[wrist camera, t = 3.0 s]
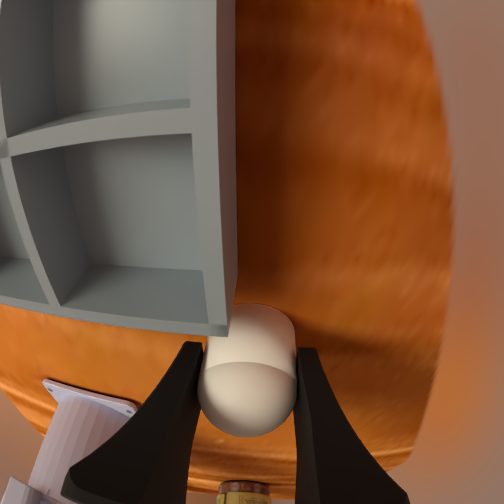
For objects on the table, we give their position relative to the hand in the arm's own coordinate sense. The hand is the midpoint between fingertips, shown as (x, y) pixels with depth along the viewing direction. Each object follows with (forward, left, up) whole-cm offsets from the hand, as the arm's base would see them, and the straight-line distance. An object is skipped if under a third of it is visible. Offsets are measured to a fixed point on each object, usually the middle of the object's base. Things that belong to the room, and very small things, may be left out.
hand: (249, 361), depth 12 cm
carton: (+9, +9, -1) cm, 13 cm away
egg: (0, 0, -1) cm, 1 cm away
